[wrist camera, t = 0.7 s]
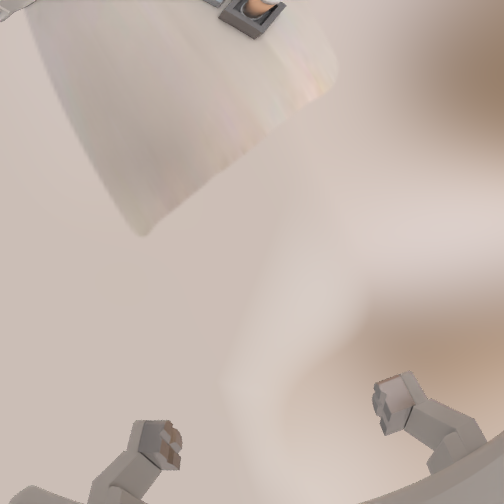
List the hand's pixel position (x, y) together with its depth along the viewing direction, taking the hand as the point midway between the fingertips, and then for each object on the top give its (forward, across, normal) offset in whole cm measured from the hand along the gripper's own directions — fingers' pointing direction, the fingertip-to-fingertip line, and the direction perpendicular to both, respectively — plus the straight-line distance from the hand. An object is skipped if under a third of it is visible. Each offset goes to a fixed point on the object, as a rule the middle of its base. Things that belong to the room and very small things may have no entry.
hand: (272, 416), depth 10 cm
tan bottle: (+42, -8, -31) cm, 52 cm away
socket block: (+43, -8, -31) cm, 53 cm away
